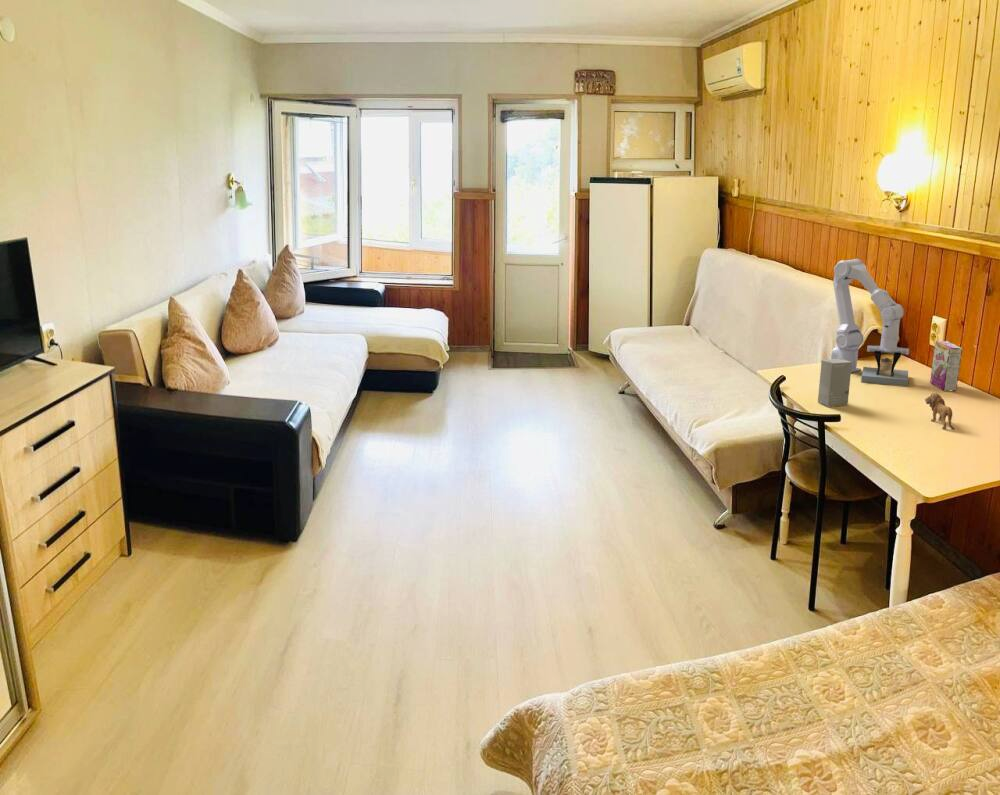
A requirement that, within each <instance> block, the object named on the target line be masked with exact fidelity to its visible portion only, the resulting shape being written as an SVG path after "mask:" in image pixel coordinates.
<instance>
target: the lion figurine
mask: <svg viewBox="0 0 1000 795" xmlns="http://www.w3.org/2000/svg"><path fill="white" fill-rule="evenodd" d="M924 401H925V404H926V405H928V406H929V407H930V408H931V411H932V419H931V420H930V422H937V421H939V422H942V424H943V426H942V427H941V429H942V430H946V429H947V428H948V427H949V428H950V429H951V430H953V431H955V428H954V427H953V426H952V419H953V415H954V414H953V410H952V408H951V407H949V406H947V405H946V403H945V400H944V398H943V397H942V396H941V395H940V394H938V392H931V393H930V395H929V396H928V397H926V398H924ZM937 415H939V417H938V419H937ZM946 418H947V420H948V421H947V422H948V424H947V422H946Z"/></svg>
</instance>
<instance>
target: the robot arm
mask: <svg viewBox="0 0 1000 795" xmlns="http://www.w3.org/2000/svg"><path fill="white" fill-rule="evenodd" d="M833 271H834V272H833V273H834V275H833V276H834V277H833V280H832V284H833V290H834V295H835V296H834V297H835V301H836V303H835V304H836V307H837V314H838V320H839V327H838V328H837V330H836V338H835V343H836V346H835V347H834V348H833V349H832V350H831V354H830V359H843V360H847V361H850V362H852V367H851V373H855V372H858V371H861V370H862V369H861V368H858V367H857V364H858V356H859V348H860V346H861V345H863V342H864V335H863V333H862V331H861V328H860V326H859V325H858V324H856V321H855V315H854V310H853V309H854V308H853V304H852V298H851V297H852V296H851V292H850V291H851V290H850V283H851V282H852V281H853V280H858V282H860V284H861V285H862V286H863V287H864V288H865V289H866V290H867V291H868V293H869V294H870V300H871V301H872V302H873V304H874V305H875V306H876V307H877V308H878V310H879V311H880V318H881V320H882V322H881V323H882V327H881V334H880V335H881V336H880V337H881V339H880V345H867V349H866V352H872V353H873V354H874V358H875V360H876V365H877V368H878V371H880V364H881V358H882V353H887V354H888V353H890V354H893V358H892V359H893V360H892V369H891V372H893V370H894V368H895V367H896V365H897V363H898V362H899V360H900V358H902V357H901V356H902V354H903V355H906V356H907V355H909V353H910V348H905V347H899V346H898V345H897V344H898V338H899V332H900V331H899V330H900V322H901V319H902V318H903V317H904V316H905V309H904V308H903V306H902V305H901V304H900V303H896V300H893V298H892V297H891V296H890V295H889V292H888V290H885V289H882V288H879V286H878V284H877V283H876V281H875V280H874V279H873V277H872V276H871V274H870V273H869V272H868V270H867V265H866V264H864V262H863V260H861V259H860V258H853V259H848V260H840V261H838V262H837V263H836V265H835V266H834V267H833Z"/></svg>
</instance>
